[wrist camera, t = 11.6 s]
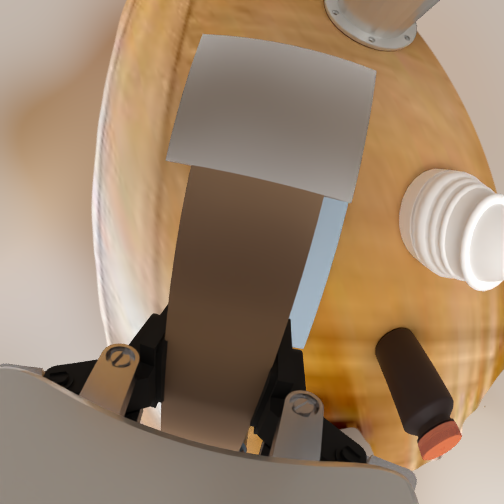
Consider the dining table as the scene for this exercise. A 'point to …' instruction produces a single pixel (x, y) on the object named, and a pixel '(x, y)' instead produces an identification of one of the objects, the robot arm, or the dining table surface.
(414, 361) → the bottle
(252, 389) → the tool
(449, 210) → the honey pot
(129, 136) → the dining table surface
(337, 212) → the mat
